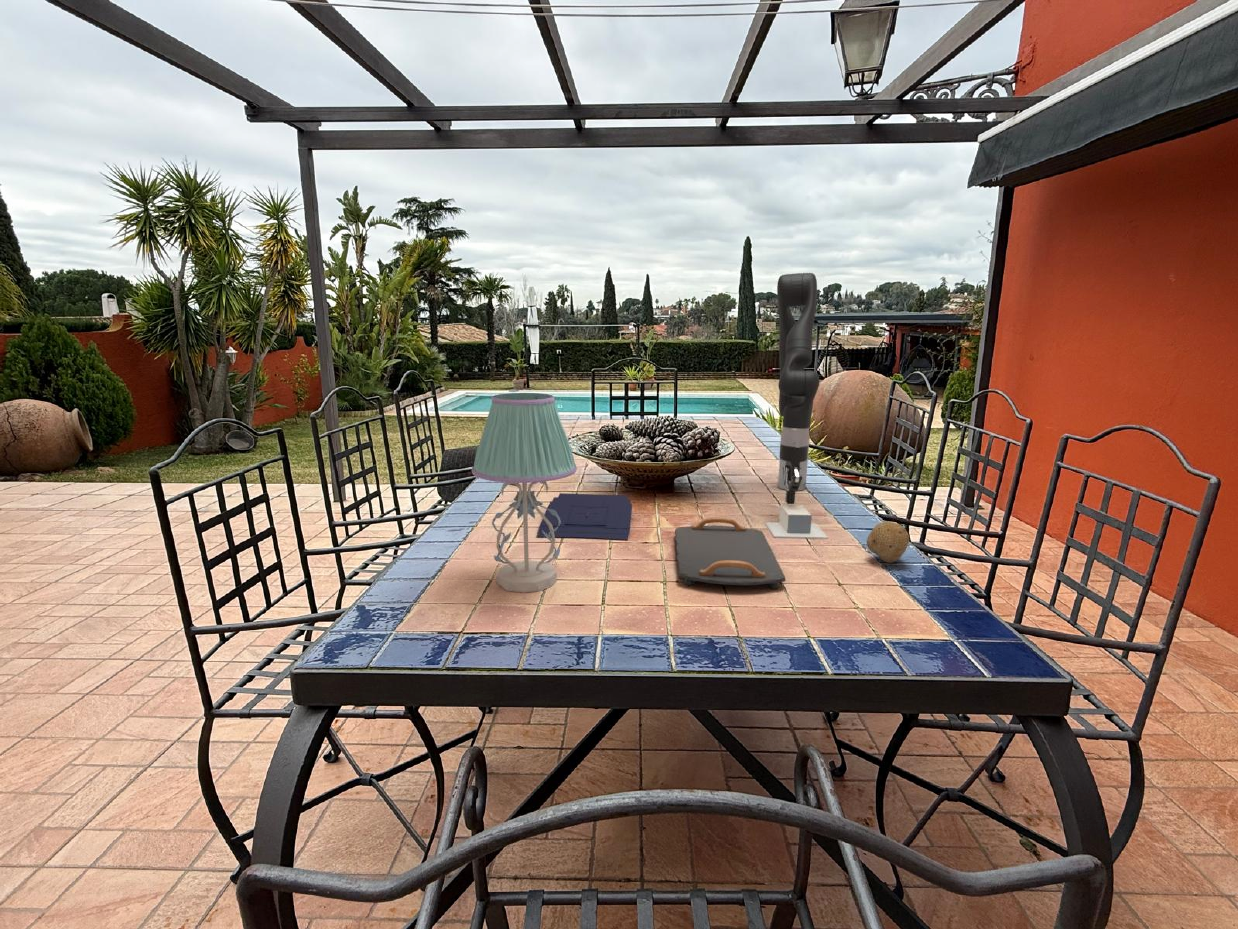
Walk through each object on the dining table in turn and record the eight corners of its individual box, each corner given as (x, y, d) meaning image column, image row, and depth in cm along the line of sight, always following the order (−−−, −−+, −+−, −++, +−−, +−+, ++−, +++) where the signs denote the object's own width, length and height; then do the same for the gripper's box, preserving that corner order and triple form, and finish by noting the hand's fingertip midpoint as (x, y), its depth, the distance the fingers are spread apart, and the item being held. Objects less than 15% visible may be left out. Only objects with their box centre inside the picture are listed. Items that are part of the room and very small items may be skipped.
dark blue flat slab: (633, 503, 194) (633, 492, 193) (628, 549, 166) (628, 536, 165) (553, 501, 195) (553, 490, 194) (535, 546, 167) (535, 533, 166)
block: (780, 504, 180) (789, 515, 170) (801, 505, 180) (811, 515, 170) (779, 521, 181) (787, 533, 171) (800, 522, 181) (810, 533, 171)
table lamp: (569, 559, 152) (568, 390, 143) (584, 597, 131) (584, 402, 122) (475, 565, 147) (469, 391, 138) (475, 606, 126) (468, 403, 118)
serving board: (789, 597, 133) (791, 569, 132) (677, 593, 134) (678, 565, 133) (760, 536, 171) (761, 514, 169) (673, 534, 172) (673, 511, 171)
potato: (865, 565, 150) (869, 525, 148) (864, 553, 158) (868, 514, 156) (907, 571, 147) (912, 529, 145) (904, 558, 155) (909, 518, 153)
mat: (765, 523, 180) (765, 522, 180) (815, 524, 180) (815, 523, 180) (774, 537, 169) (774, 536, 169) (827, 538, 168) (827, 537, 168)
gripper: (775, 438, 184) (771, 496, 188) (786, 447, 171) (781, 509, 175) (801, 438, 184) (797, 497, 187) (814, 447, 171) (809, 510, 175)
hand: (789, 503), depth 181 cm, fingers closed
